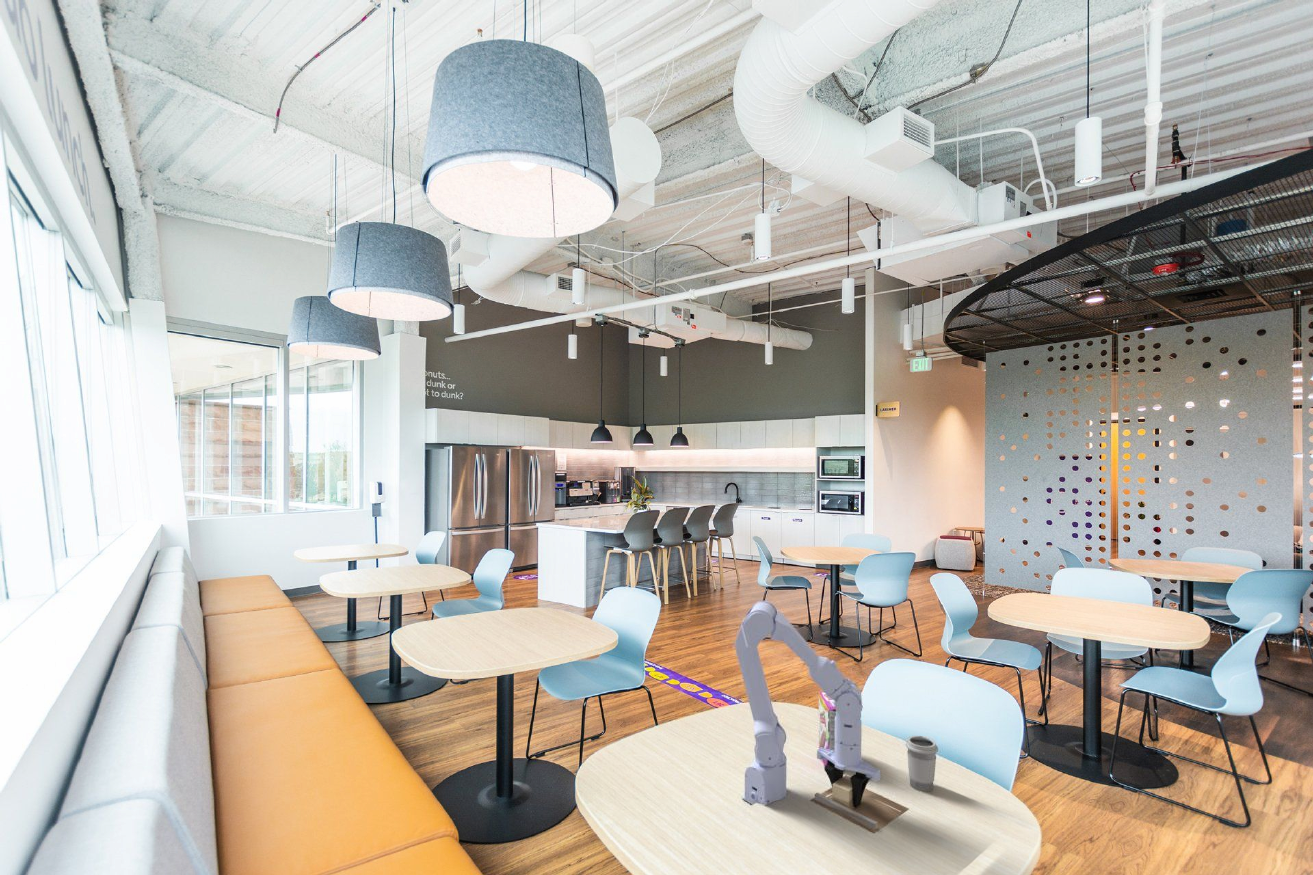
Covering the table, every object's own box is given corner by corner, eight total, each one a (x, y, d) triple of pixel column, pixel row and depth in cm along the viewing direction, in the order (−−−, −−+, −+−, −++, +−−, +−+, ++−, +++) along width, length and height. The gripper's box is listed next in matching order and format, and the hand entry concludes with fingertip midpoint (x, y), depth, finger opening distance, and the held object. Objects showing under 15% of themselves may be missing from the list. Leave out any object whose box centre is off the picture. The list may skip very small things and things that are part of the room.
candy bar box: (817, 754, 172) (817, 691, 172) (836, 754, 172) (837, 691, 172) (827, 776, 161) (828, 709, 161) (848, 776, 161) (848, 709, 161)
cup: (935, 787, 156) (936, 736, 156) (939, 802, 150) (940, 749, 150) (903, 783, 158) (904, 733, 158) (906, 797, 152) (906, 745, 152)
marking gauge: (848, 811, 143) (848, 791, 143) (832, 804, 146) (832, 783, 146) (872, 793, 150) (872, 773, 150) (856, 786, 153) (856, 767, 153)
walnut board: (873, 840, 135) (873, 827, 135) (809, 806, 148) (809, 794, 148) (909, 815, 144) (909, 803, 144) (845, 785, 157) (845, 774, 157)
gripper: (809, 734, 149) (809, 794, 149) (869, 757, 138) (868, 822, 138) (826, 725, 154) (826, 783, 154) (885, 746, 143) (884, 809, 143)
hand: (847, 801), depth 146 cm, fingers closed on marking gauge, 4 cm apart
